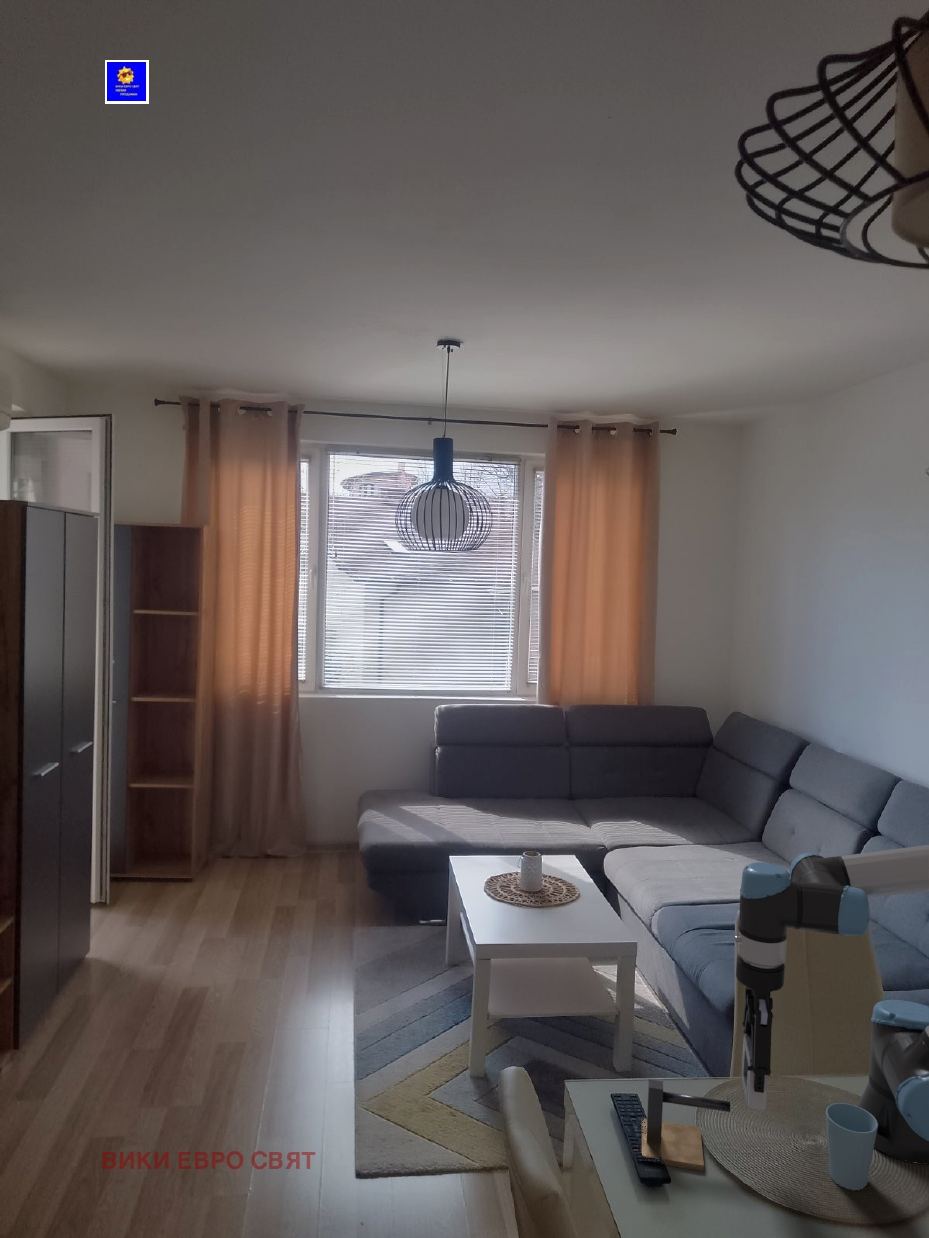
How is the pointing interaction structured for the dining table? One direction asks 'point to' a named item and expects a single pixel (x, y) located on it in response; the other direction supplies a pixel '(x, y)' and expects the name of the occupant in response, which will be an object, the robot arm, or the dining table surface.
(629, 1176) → the dining table surface
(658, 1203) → the dining table surface
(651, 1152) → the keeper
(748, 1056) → the link
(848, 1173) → the cup
